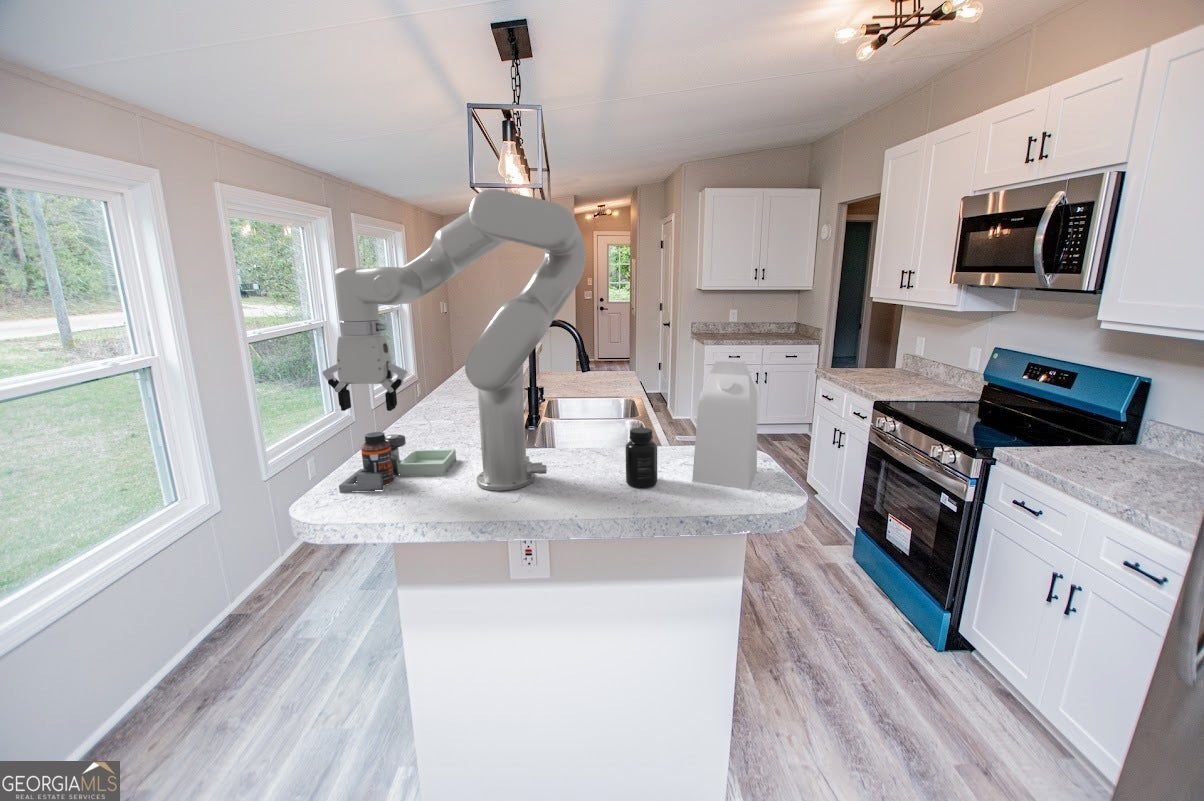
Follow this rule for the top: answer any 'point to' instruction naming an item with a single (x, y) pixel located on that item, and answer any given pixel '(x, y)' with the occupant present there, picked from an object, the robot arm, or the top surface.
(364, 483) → the bracket
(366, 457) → the supplement bottle
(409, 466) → the tray
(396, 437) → the pulley
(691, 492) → the top surface
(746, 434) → the milk
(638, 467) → the supplement bottle
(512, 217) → the robot arm
